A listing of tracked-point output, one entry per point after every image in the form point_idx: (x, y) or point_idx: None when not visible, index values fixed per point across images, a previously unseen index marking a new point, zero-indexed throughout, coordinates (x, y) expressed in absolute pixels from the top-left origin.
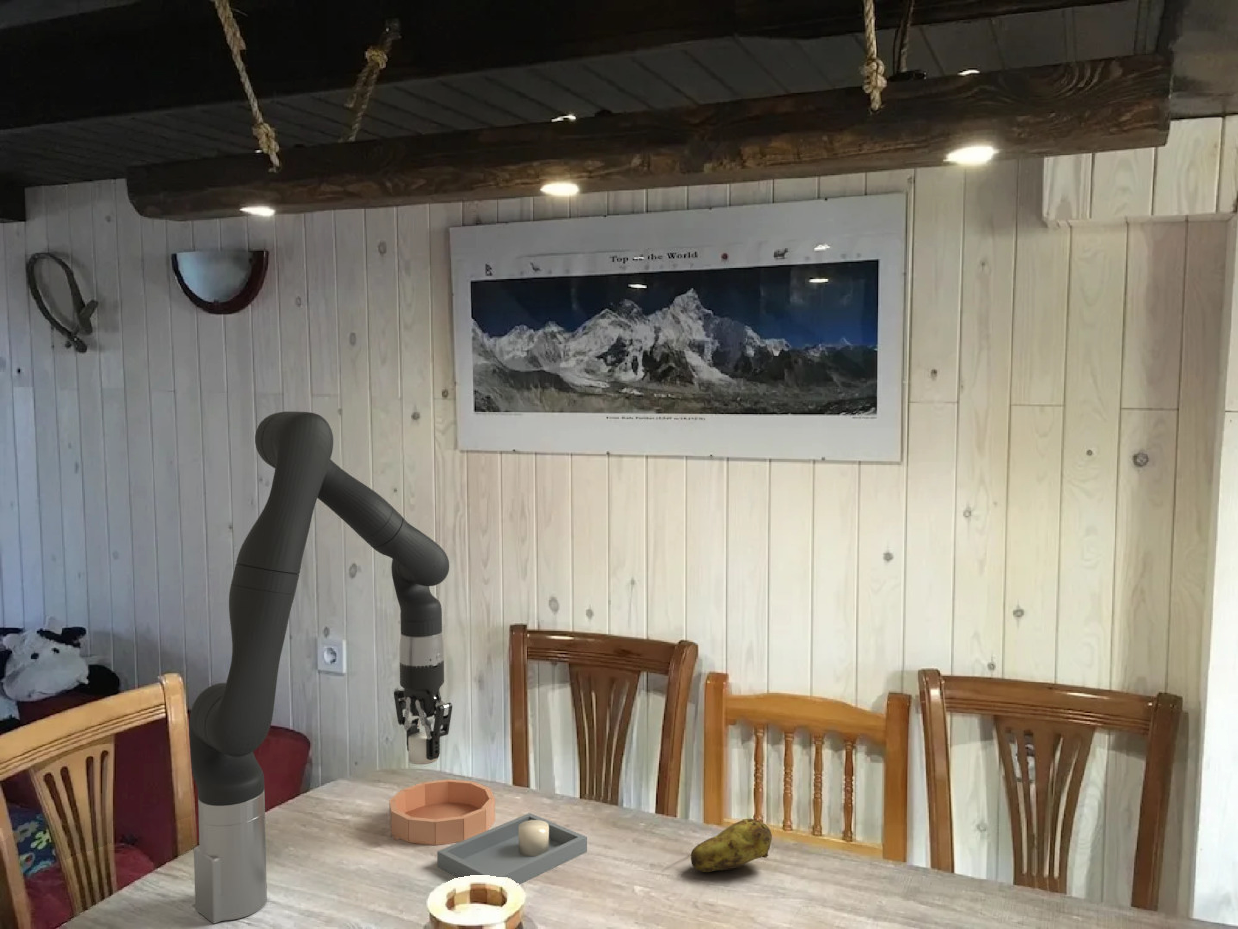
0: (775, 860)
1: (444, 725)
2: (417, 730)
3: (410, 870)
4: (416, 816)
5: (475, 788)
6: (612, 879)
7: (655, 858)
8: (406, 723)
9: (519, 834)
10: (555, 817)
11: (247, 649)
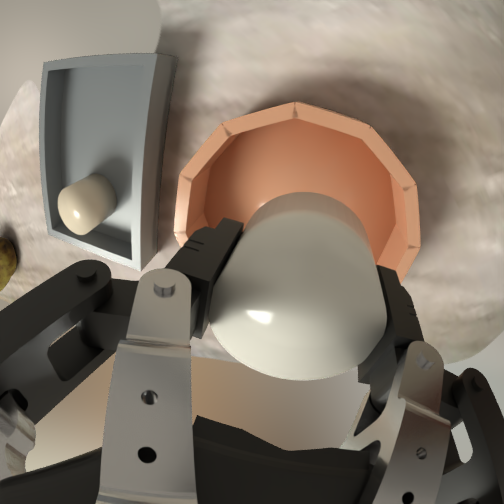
0: (10, 280)
1: (74, 358)
2: (365, 371)
3: (228, 34)
4: (364, 215)
5: None
6: (29, 191)
7: (38, 250)
8: (426, 381)
9: (85, 187)
10: None
11: None
